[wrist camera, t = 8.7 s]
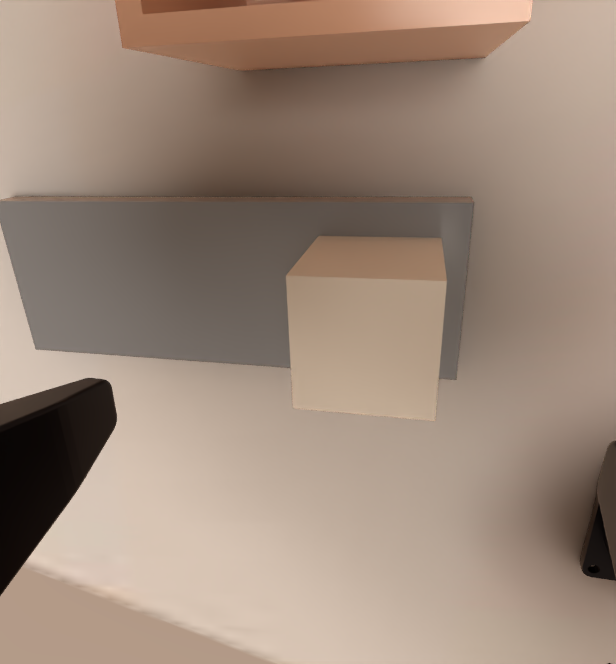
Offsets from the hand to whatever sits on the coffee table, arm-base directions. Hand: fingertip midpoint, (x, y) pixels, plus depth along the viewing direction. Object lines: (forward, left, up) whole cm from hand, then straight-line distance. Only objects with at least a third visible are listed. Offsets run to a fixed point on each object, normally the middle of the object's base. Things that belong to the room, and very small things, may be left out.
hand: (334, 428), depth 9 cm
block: (-1, 0, -11) cm, 11 cm away
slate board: (-1, +7, -12) cm, 14 cm away
